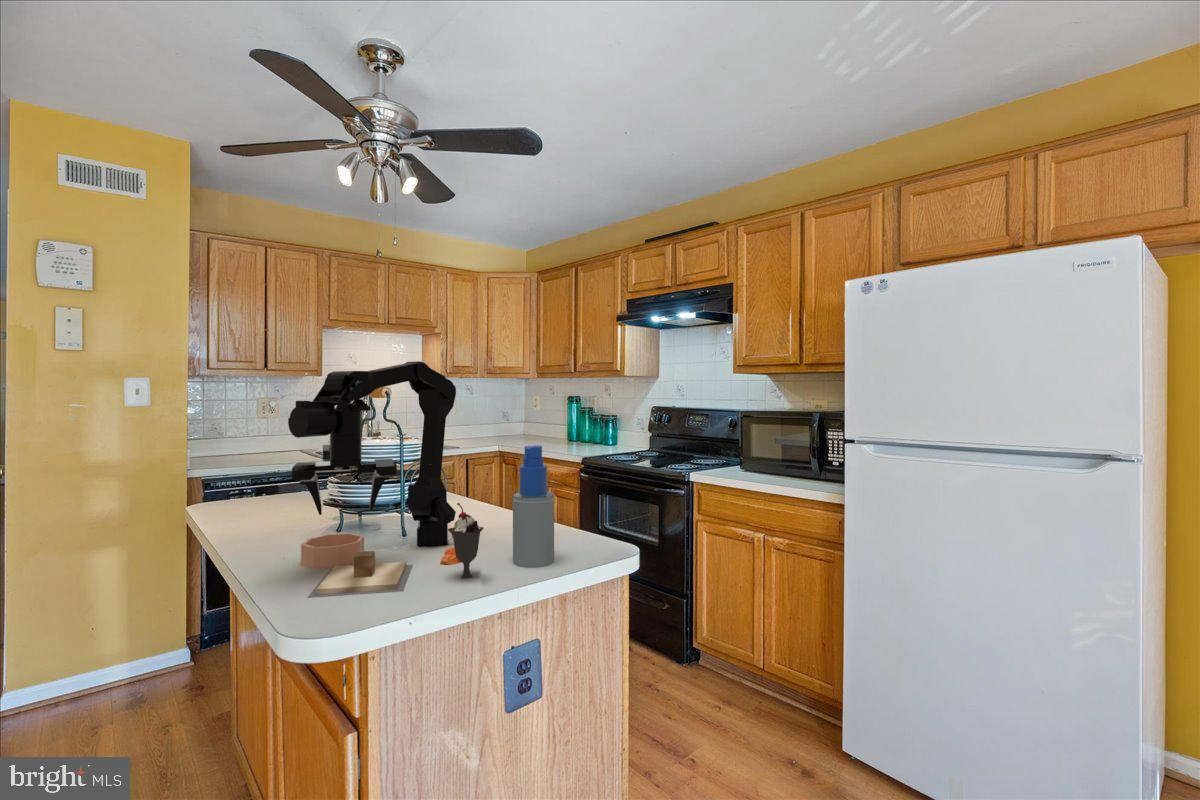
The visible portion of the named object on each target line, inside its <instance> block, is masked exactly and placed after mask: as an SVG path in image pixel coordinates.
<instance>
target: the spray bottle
mask: <svg viewBox="0 0 1200 800" xmlns="http://www.w3.org/2000/svg"><path fill="white" fill-rule="evenodd" d="M512 563H513V564H514V565H515V566H517V567H520V568H521V567H522V568H542V567H543V568H544V567H547V566H549V565H553V563H555V498H554V493H553V492H550V491H548V465H546V464H544V457H543V446H542V445H540V444H539V445H538V444H537V445H536V444H535V445H525V446H524V457H523V458H522V465H519V492H516V493H514V494H513V499H512Z"/></svg>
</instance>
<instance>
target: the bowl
mask: <svg viewBox="0 0 1200 800" xmlns="http://www.w3.org/2000/svg"><path fill="white" fill-rule="evenodd" d="M364 551H365V536H364V535H362V534H356V533H352V532H346V533H329V534H327V533H326V534H323V535H319V536H315V537H310V538H307V539H306V540H304V541H303V542H302V544H300V559H301V560H300V565H301V566H303V567H307V568H310V569H313V570H316V569H317V570H318V569H319V570H320V569H333V568H334V567H335V566H345V565H354V556H355V554H356V553H357V552H364Z"/></svg>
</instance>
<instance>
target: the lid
mask: <svg viewBox="0 0 1200 800" xmlns="http://www.w3.org/2000/svg"><path fill="white" fill-rule="evenodd" d="M375 561H376V551H375V550H369V551H365V550H364V552H357V553H356V554H355V556H354V563H353V564H349V565H345V566H335V567H334V568H331V569H332V571H331V572H330V573H329V574H328V575H327V577H326V578H325V579H324V580H323V582H322V583H321V584H320V585H319V586H318V588H317V589H316V595H321V594H335V593H350V592H365V591H379V590H394V589H397V588H398V586H399V583H400V581H401V578H402V576H403V574H404V571H405V569H406V565H407V561H400V562H399V561H397V562H396V561H395V562H382V563H381V562H379V563H376V562H375Z"/></svg>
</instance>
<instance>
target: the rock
mask: <svg viewBox="0 0 1200 800" xmlns="http://www.w3.org/2000/svg"><path fill="white" fill-rule="evenodd" d="M461 563H462V562H461V561H459V560H458V558H457V557H456V553H455V548H454V547H448V548H446V549H445V551H444V554H443V556H442V557H441V558H440V562H439V564H440V565H448V566H452V565H457V564H461Z"/></svg>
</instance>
